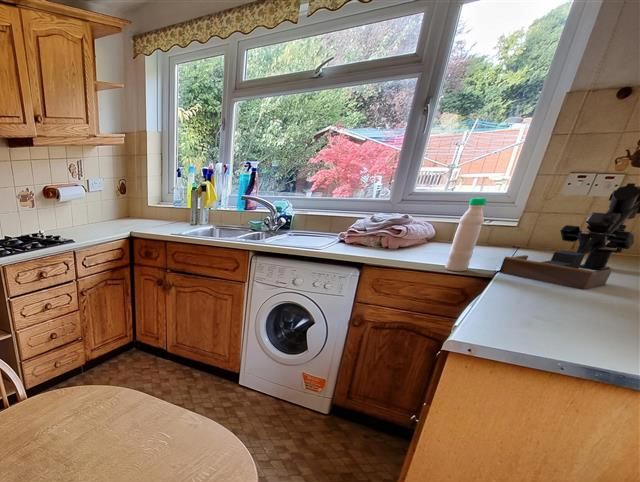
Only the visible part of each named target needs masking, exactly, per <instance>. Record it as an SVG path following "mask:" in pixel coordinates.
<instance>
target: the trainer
mask: <svg viewBox="0 0 640 482" xmlns="http://www.w3.org/2000/svg"><path fill="white" fill-rule="evenodd" d="M576 252H577V251H576ZM576 252H575V251H569V250H559V251H554V253H553V255H552V257H551V259H550V260H545V261H541V262H542V263H547V264H553V265H559V266H565V267H571V268H577V269H580V267H579V266H580V265H582V262H583V260H584V257H585V255H586V254H583V253H576Z"/></svg>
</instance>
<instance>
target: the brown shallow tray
mask: <svg viewBox="0 0 640 482" xmlns="http://www.w3.org/2000/svg"><path fill="white" fill-rule="evenodd" d="M528 258H529V255H525V254H524V255H518V256H517V255H516V256H505V257H504V258H503V260H502V263H501V266H500V268H499V271H498V273H501V274H506V275H510V276H516V277H521V278H525V279H531V280H535V281H541V282H545V283H550V284H555V285H559V286H560V285H561V286H565V287H571V288H576V289H580V290H586V289H591V288H596V287H602V286H606V283H607V281H608V279H609V278H610V275H611V274H612V272H613V269H611V268H607V269H602V270H594V271H593V270H588V269H581V268H578V269H577V268H571V267H565V266H559V265H553V264H547V263H542V262H543V261H536V260H529V259H528Z"/></svg>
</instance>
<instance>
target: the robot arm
mask: <svg viewBox="0 0 640 482" xmlns="http://www.w3.org/2000/svg"><path fill="white" fill-rule="evenodd" d="M636 184H637V183H633V182H631V183H629V182H628V183H627V184H626V185H625V186H618V188H617V189H614V190H613V191H612V192H611V194H610V196H609V198H608V201H609V205H608V208H609V209H608V210H607V211H605V212H595V211H594V212H591V213H590V214H589V216H588V217H587V218H586V220H585V224H586V223H587V226H586V229H582V230H581V228H580V226H579V225H572V224H566V225H564V226H563V227H562V228H560V230H559V232H560V235H561V240H562V241H564V242H568V243H569V242H570V243H573V242H577V241H578V247H577V249H576V253H583V254H585V255H586V254H588V255H587V257H586V259H585V261H584V263H583V264H582V263H581V264H580V266H579V268H586V269H591V270H596V271H599V270H604V269H611V268H610V266H608V265H607V264H608V262H609V261H610V258H611V256H612V254H613V253H616V254H618V253H621V252H622V251H623V250H629V249H630V248H631V247H632V246H633V245H634V243H635V237H634V232H633V231H626V229H627V225H626V223H627V221H628V220H632V219H633V220H634V219H635V218H636V216H637V215H640V185H636Z"/></svg>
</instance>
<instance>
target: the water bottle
mask: <svg viewBox="0 0 640 482" xmlns="http://www.w3.org/2000/svg"><path fill="white" fill-rule="evenodd" d="M487 200H488V199H487V198H485V197H472V198H470V200H469V201H468V209H467V210H466V211H465V212H464V214H463V215H462V216H461V217H460V219H459V221H458V226H457V228H456V231H455V234H454V237H453V240H452V244H451V248H450V250H449V253H448V257H447V260H446V262H445V264H444V265H445V266H444V269H445V270H447V271H451V272H467V270H468V268H469V267H470V261H471V258H472V257H473V254H474V249H475V247H476V244H477V242H478V239H479V236H480V233H481V229H482V227H483V224H484V221H485V217H484V211H483V208H484V207H485V206H486V204H487Z"/></svg>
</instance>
